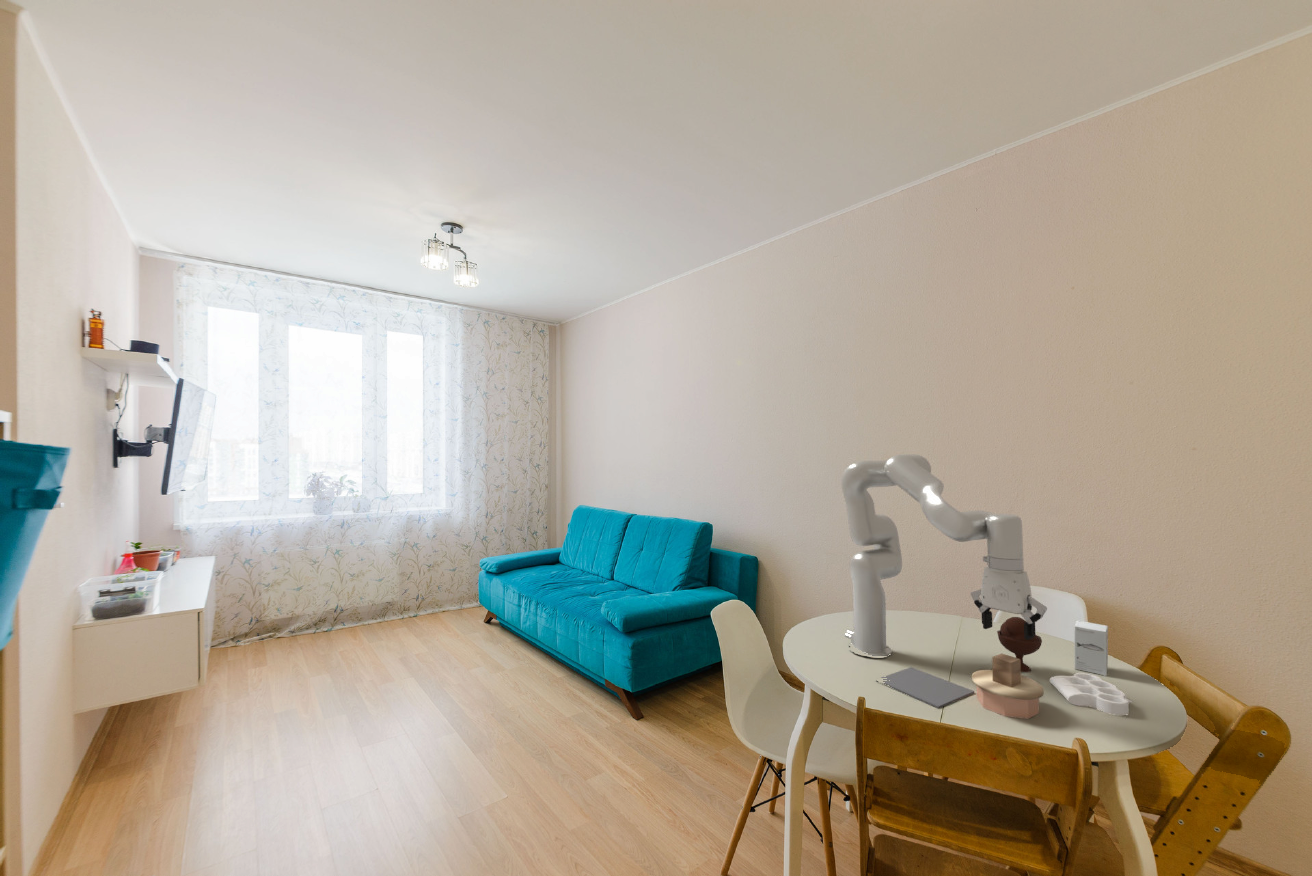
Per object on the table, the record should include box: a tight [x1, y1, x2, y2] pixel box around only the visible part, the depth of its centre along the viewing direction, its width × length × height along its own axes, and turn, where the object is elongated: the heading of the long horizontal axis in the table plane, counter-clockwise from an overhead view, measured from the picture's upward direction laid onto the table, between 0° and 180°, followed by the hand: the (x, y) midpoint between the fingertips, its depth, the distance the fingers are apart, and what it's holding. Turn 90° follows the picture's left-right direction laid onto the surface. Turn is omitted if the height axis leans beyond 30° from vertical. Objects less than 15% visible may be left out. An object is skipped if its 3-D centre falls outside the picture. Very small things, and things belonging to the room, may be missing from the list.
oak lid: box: [971, 653, 1045, 700], centre depth 135 cm, size 15×15×7 cm
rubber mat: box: [880, 666, 975, 709], centre depth 145 cm, size 18×16×1 cm
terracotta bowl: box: [976, 686, 1040, 719], centre depth 135 cm, size 12×12×5 cm
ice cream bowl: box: [996, 616, 1043, 673], centre depth 157 cm, size 11×11×15 cm
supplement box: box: [1073, 620, 1109, 677], centre depth 156 cm, size 7×7×13 cm
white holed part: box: [1049, 672, 1133, 716], centre depth 139 cm, size 3×18×15 cm
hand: (1007, 633), depth 134 cm, fingers open, 9 cm apart
